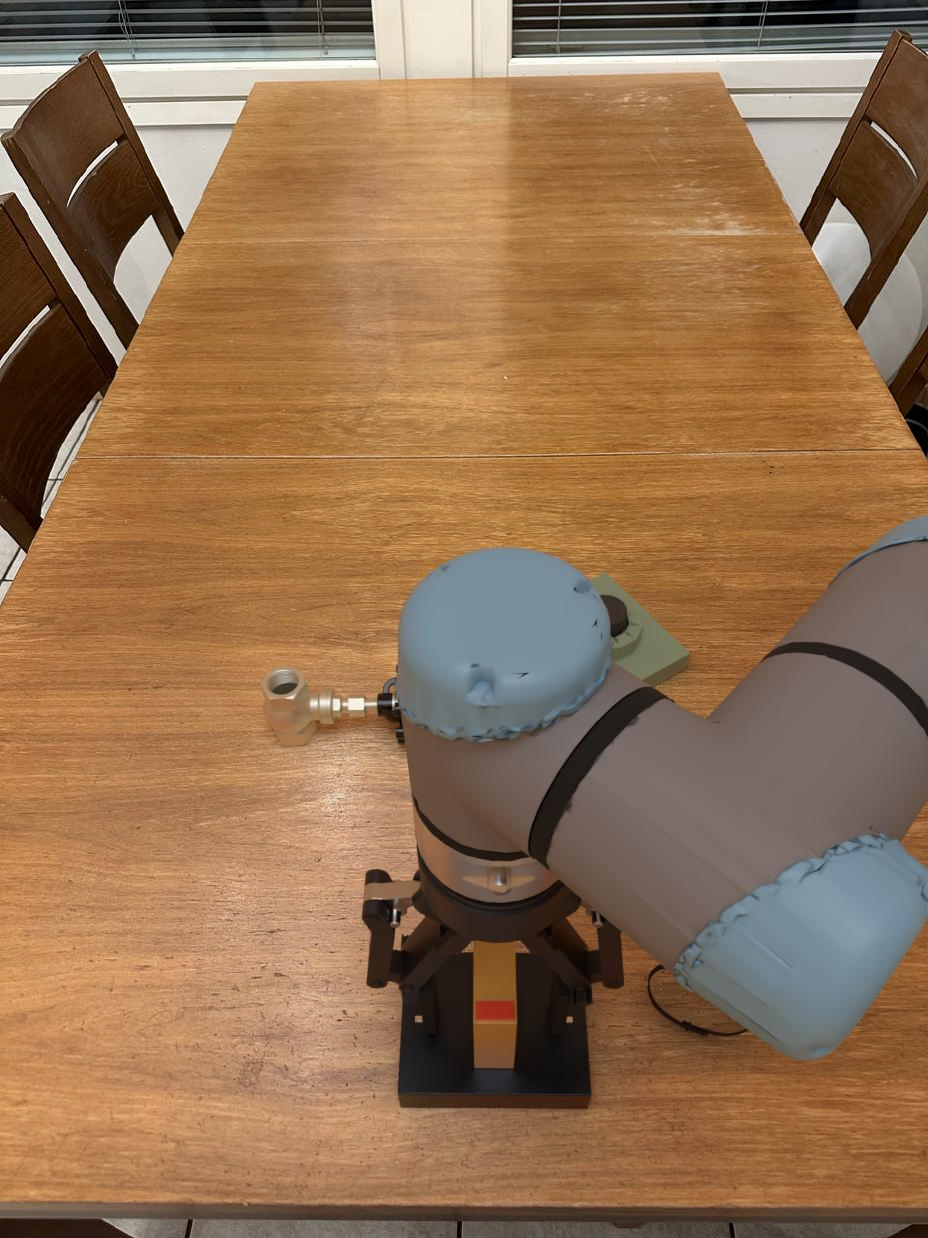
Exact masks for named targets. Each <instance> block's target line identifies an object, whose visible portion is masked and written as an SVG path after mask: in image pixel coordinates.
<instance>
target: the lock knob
mask: <svg viewBox="0 0 928 1238" xmlns="http://www.w3.org/2000/svg"><path fill="white" fill-rule="evenodd" d="M472 947H473V948H472V949H473V951H472V952H473V1038H474V1067H475V1068H514V1062H515V1048H516V1034H517V991H516V953H517V952H516V941H514V942H507V943H489V942H482V941H478V940H477V941H473V946H472Z"/></svg>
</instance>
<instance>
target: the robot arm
mask: <svg viewBox="0 0 928 1238" xmlns="http://www.w3.org/2000/svg"><path fill="white" fill-rule="evenodd" d="M589 580H590V579H589V578H588V576H586V574H584V573H583V572H582V571H581V570H580V569H578V568H577V567H575V566H574V565H572V564H570V563H569V562H567V561H566V560H564V559H562V558H559V557H557V556H556V555H552V554H550V553H548V552H543V551H541V550H536V549H533V548H532V549H531V548H526V547H525V548H524V547H517V546H516V547H513V546H499V547H488V548H483V549H476V550H472V551H468V552H466V553H464V554H460V555H459V556H456V557H454V558H451V559H448V560H447V561H445V562H444V563H443V564H442V565H439V567H437V568H435V569H434V570H432V571H430V572H429V573H428V574H426V576H425V577H423V579H422V580H420V581H419V582H418V584H416V585H415V587H414V588H413V590H412V591H411V592H410V594H409V595H408V597H407V599H406V601H405V603H404V605H403V607H402V610H401V613H400V618H399V621H398V627H397V665H398V673H396V676H395V677H396V680H395V686H394V693H396V694H397V695H396V700H397V702H398V704H399V707H400V710H401V716H402V724H403V731H404V739H405V744H404V745H405V746H404V747H405V753H406V762H407V770H408V779H409V785H410V794H411V804H412V805H411V806H412V816H413V826H414V837H415V841H416V856H417V865H418V869H417V870H416V871H415V872H414V874H413V877H412V879H410V880H401V879H392V877H391V875H390V874H389V872H387V871H386V870H384V869H380V868H372V869H369V870H367V871H366V872H365V875H364V888H363V898H362V910H361V920H362V922H363V923H364V925H365V926H366V927H367V928H368V930H369V932H370V934H369V935H370V936H369V943H368V945H369V946H368V957H367V969H366V971H367V972H366V983H365V984H366V986H367V987H369V988H371V989H377V990H379V989H384V988H386V987H387V986H388V984H389V982H390V983H394V984H396V985H398V990H399V992H400V994H401V999H402V1001H403V1002H404V1003H405V1004H420V1006H421V1013H422V1020H423V1028H424V1034H436V1027H437V994H438V990H437V980H436V971H437V970H438V969H439V967H440V966H441V965H442V964H443V963H444V962H445V961H446V960H447V959H448V958H449V956H450V955H451V954H453V955H460V954H461V952H464V951H465V950H466V948H467V947H468V946H469V945H470V944H472V942H474V941H477V940H478V941H482V942H489V943H507V942H514V941H515V942H520V943H521V944H522V945H523V946H524V947H525V949H527V950H528V951H529V953H531V954H532V955H541V956H542V957H543V959H544V960H545V961H546V962H547V963H548V964H549V966H550V967H551V968H552V969H553V972H552V980H551V987H550V1005H551V1025H552V1035H564V1032H565V1026H566V1021H567V1015H568V1010H569V1005H575V1006H585V1007H589V1006H591V1005H592V1004H594V1000H593V998H594V997H593V987H592V985H594V984H597V983H602V987H604V988H606V989H610V990H619V989H621V988H624V986H625V973H624V960H623V959H624V958H623V946H622V945H623V943H622V934H623V935H625V936H626V937H627V938H628V939H630V940H631V942H633V943H634V944H635V945H636V946H638V947H639V948H640V949H641V950H642V951H644V952H645V953H646V954H647V955H649V956H650V957H651V958H652V959H653V960H654V961H656V962H657V963H658V964H659V965H660V964H661V965H662V966H663V967H664V968H666V969H665V970H666V971H668V972H669V973H670V974H671V975H673V977H674V981H675V982H677V983H678V985H680V986H681V987H682V988H684V989H685V990H686V991H687V992H690V993H693V994H695V993H696V994H697V995H699V996H700V997H701V998H703V999H704V1000H706V1001H707V1002H708V1003H710V1004H711V1005H712V1006H714V1007H716V1008H717V1009H718V1010H720V1011H721V1012H723V1013H724V1014H725V1015H726V1016H728V1017H729V1018H731V1020H734V1021H735V1022H736V1023H738V1024H739V1025H741V1026H742V1027H743V1028H745V1029H748V1030H749V1031H748V1032H750V1033H751V1034H753V1035H754V1036H756V1037H757V1038H759V1039H760V1040H762V1041H763V1042H764V1043H766V1044H767V1045H768V1046H770V1047H771V1048H772V1049H774V1050H775V1051H777V1052H778V1053H780V1055H783V1056H785V1057H788V1058H790V1059H792V1060H797V1061H805V1062H806V1061H807V1062H809V1061H815V1060H820V1059H822V1058H825V1057H828V1056H829V1055H830V1054H832V1053H833V1052H835V1051H836V1050H837V1049H838V1048H839V1047H840V1046H841V1045H842V1043H843V1042H844V1041H845V1040H846V1039H847V1038H848V1036H849V1035H850V1034H851V1032H852V1031H853V1030H854V1029H855V1028H856V1026H857V1024H859V1022H860V1020H861V1019H862V1018H863V1017H864V1015H865V1014H866V1012H867V1011H868V1010H869V1008H870V1007H871V1005H872V1004H873V1003H874V1001H875V1000H876V998H877V997H878V996H879V994H880V993H881V992H882V990H883V988H884V987H885V986H886V984H887V983H888V981H889V980H890V978H891V977H892V976H893V975H894V973H895V971H896V970H897V968H898V967H899V966H900V964H901V962H902V961H903V959H904V958H905V957H906V954H907V953H908V951H909V950H910V949H911V947H912V945H913V943H914V942H915V940H916V939H917V938H918V936H919V934H920V933H921V931H922V930H923V928H924V926H925V924H926V922H927V921H928V867H927V866H926V865H925V864H924V863H922V862H921V861H919V860H918V859H917V858H915V857H914V856H912V854H911V853H909V852H908V851H907V850H906V847H905V844H902V843H901V842H903V840H904V838H905V836H906V835H907V833H908V832H909V831H910V829H911V827H912V826H913V824H914V822H915V821H916V819H917V818H918V816H919V815H920V813H921V811H922V810H923V808H924V806H925V805H926V803H927V802H928V514H925V515H920V516H917V517H914V518H910V519H908V520H906V521H902V522H901V523H900V524H898V525H896V526H894V527H892V528H891V529H889V530H888V531H886V532H885V533H884V534H883V535H882V536H881V537H880V538H879V539H878V540H876V541H875V542H874V543H873V544H872V545H870V547H869V548H867V549H866V550H864V551H862V552H861V553H859V554H858V555H856V556H854V557H853V558H852V559H851V560H850V561H849V562H847V563H846V564H845V565H844V566H843V567H842V568H841V569H840V570H839V571H838V572H837V574H836V575H835V577H833V579H832V580H831V582H830V583H829V584H828V585H827V586H826V588H825V590H824V592H822V594H821V595H820V596H819V597H818V598H817V599H816V600H815V602H813V604H811V606H810V607H809V608H808V609H807V610H806V611H805V612H804V613H803V614H802V616H800V618H799V619H798V620H797V621H796V622H795V623H794V625H793V626H791V628H790V629H789V630H788V631H787V632H786V633H785V635H783V636H782V638H781V639H780V640H779V641H778V642H777V643H776V644H775V645H774V646H773V647H772V648H771V650H770V651H769V652H768V653H767V654H766V655H765V656H764V657H763V658H762V659H761V660H760V661H759V662H758V663H757V665H755V666H754V667H753V668H752V669H751V670H750V671H749V672H748V673H747V674H746V675H745V677H744V678H743V679H742V680H741V681H740V682H739V683H738V684H737V685H736V686H735V687H734V688H733V689H732V690H731V692H730V693H728V695H727V696H726V697H725V698H724V699H722V701H721V702H720V703H719V704H718V705H717V706H716V707H715V709H714V710H713V711H712V712H710V714H709V715H707V717H705V718H704V717H703V716H701V715H699V714H697V713H695V712H693V711H691V710H689V709H688V708H685V707H683V706H682V705H679V704H678V703H676V701H675V700H674V699H672V698H670V697H669V696H667V695H666V694H664V693H663V692H661V691H660V690H658V689H656V688H654V687H652V686H650V685H649V684H647V683H646V682H644V681H643V680H641V679H640V678H638V677H636V676H635V675H633V674H632V673H630V672H628V671H627V670H625V669H624V668H622V667H621V666H619V665H617V664H616V663H614V662H613V661H612V659H611V658H612V647H613V645H614V642H613V640H612V636H611V635H610V618H609V614H608V610H607V607H606V606H605V605H604V603H603V601H602V599H601V597H600V595H599V594H598V592H597V591H596V589H595V588H594V587H593V586H592V584H591V583H590V581H589ZM411 907H413V908H414V909H415V911H417V912H418V913H419V914H421V915H422V916H424V917H423V918H422V920H421V921H420V922H419V924H417V926H416V927H415V928H414V929H413V931H412V932H411V934H406V935H405V934H404V933H402V934H401V939H400V940H401V941H400V949H394V945H395V939H396V929H397V928H399V927H401V925H402V924H401V923H402V922H401V921H402V917H403V916H405V915H407V913H408V909H410V908H411ZM580 907H582V908H584V911H585V914H586V915H587V916H589V917H591V924H592V927H593V928H596V935H597V944H598V949H591V950H590V949H589V948H590V947H589V946H588V944H587V943H586V942H585V941H584V939H583V938H582V937H581V935H580V934H579V933H578V931H577V930H576V929H575V927H574V926H573V925H572V924H571V922H570V920H568V918H567V917H569V916H571V915H573V914H575V913H576V912H577V911H578V910H579V909H580Z"/></svg>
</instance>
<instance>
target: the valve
mask: <svg viewBox="0 0 928 1238" xmlns="http://www.w3.org/2000/svg"><path fill="white" fill-rule="evenodd" d="M395 672H396V674H397V673H398V664H396V665H395ZM395 680H396V676H395V677H392V678H390V679H387V681H386V682H385V683H384V684H383V686H382V687H383V688H382V692H378V693H377V697H376V698H367V695H366V694H365V693H350V694H349V695H348V697H347V698H343V695H342V694H341V693H338V694H337V693H336V690H335V688H334V687H322V688H320V690H319V691H314V692H313V691H311V690H310V688H309V684H308V681H307V679H306V678H305V675H304V674H303V673H302V671H301V669H300V668H299V667H298V666H293V665H281V666H275V667H273V668H272V669H270V670H269V672H267V673H266V675H264V677H263V679H262V680H261V681H260V682H259V686H260V690H261V693H262V696H263V697H264V701H263V712H264V716H265V718H266V721H267V722H268V723H269V725H270V726H271V727H272V731H273V732H274V734H275V737H276V738H277V740H278V742H279V743H280V745H281V746H283V747H300V746H305V745H306V744H308V743H309V741H310V740H311V739H312V738H313V736H314V735H315V734H316V732H317V731H318V724H317V721H319V722H320V724H321V725H334V724H335V722H336V718H342V716H343V714H345V713H346V714H347V713H348V717H349V718H365V717H366V716H367V712H377V717H378V718H384V719H385V720H386V721H388V722H391V723H395V724H396V723H397V724H399V725H398V726H399V727H395V739H396V740H397V744H398V745H405V739H404V731H403V724H402V716H401V710H400V707H399V704H398V702H397V700H396V695H397V694H396V692H390V689H391V687H392V686H394V687H395Z"/></svg>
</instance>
